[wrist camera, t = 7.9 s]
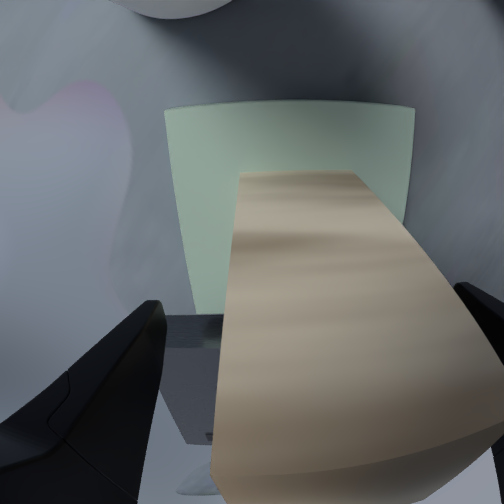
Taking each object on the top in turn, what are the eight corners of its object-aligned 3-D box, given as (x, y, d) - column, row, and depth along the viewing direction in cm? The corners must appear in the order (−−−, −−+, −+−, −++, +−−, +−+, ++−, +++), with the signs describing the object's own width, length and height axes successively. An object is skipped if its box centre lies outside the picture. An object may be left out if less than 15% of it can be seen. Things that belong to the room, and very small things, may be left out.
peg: (343, 263, 15) (423, 499, 5) (247, 268, 15) (242, 527, 5) (351, 169, 12) (526, 409, 3) (240, 172, 12) (210, 474, 3)
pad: (380, 292, 17) (385, 303, 16) (199, 301, 17) (196, 314, 16) (404, 106, 12) (415, 108, 11) (170, 108, 12) (164, 110, 11)
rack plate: (378, 407, 23) (385, 432, 21) (190, 418, 24) (186, 445, 21) (421, 301, 17) (437, 330, 15) (151, 315, 18) (140, 348, 15)
